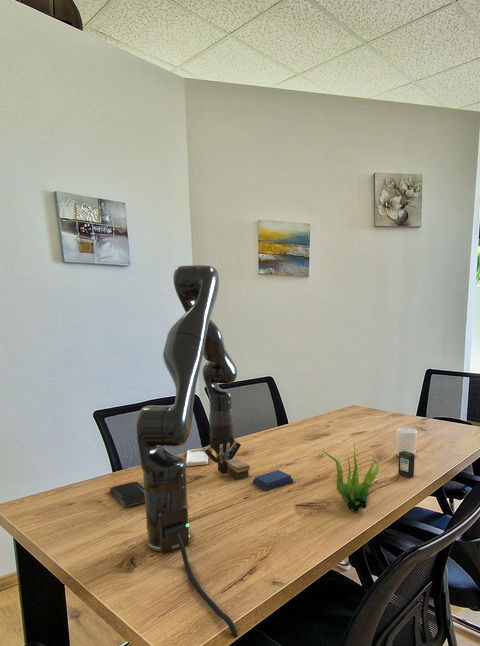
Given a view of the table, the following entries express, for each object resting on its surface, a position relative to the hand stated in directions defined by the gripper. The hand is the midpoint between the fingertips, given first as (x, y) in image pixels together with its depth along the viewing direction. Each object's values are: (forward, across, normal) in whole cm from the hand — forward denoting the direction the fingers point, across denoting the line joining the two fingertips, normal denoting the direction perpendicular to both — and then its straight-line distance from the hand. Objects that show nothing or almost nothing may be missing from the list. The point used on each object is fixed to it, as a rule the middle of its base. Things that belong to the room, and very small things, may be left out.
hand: (223, 472), depth 144 cm
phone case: (+1, 0, +22) cm, 22 cm away
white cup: (+1, +63, -26) cm, 68 cm away
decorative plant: (+1, +24, -35) cm, 43 cm away
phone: (+2, -28, +3) cm, 28 cm away
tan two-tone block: (+1, +4, 0) cm, 5 cm away
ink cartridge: (+1, +48, -38) cm, 61 cm away
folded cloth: (+1, +10, -15) cm, 18 cm away
